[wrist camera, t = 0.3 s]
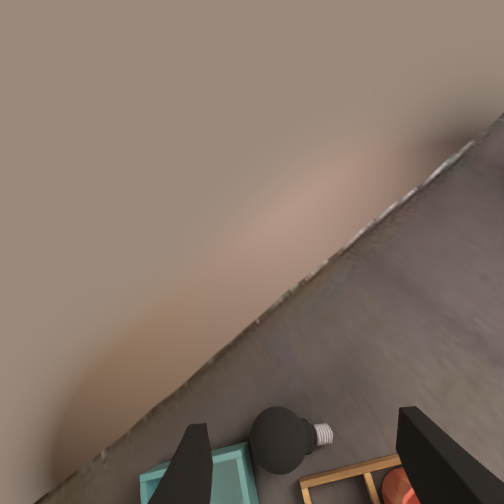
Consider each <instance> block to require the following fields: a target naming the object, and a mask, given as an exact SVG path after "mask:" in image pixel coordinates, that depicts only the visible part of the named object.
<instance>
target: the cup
mask: <svg viewBox="0 0 504 504" xmlns="http://www.w3.org/2000/svg"><path fill="white" fill-rule="evenodd" d="M382 499H383V502H384V504H420V502H419V500H418V498H417V496H416V494H415V492H414V490H413V488H412V486H411V484H410V482H409V480H408V478H407V475H406V473H405V470H404V468H403V467H399V468H395V469H393V470H391V471H390V472H388V473H387V475H386V476H385V478H384V480H383V483H382Z"/></svg>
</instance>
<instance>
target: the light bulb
mask: <svg viewBox="0 0 504 504" xmlns="http://www.w3.org/2000/svg"><path fill="white" fill-rule="evenodd" d="M332 441H333V433H332V431H331V429H330V427H329V425H328V424H326V423H324V424H312V425H310V424H309V422H308V421H307V420H306V419H299V418H298V416H297V415H296V414H295V413H293V412H292V411H290V410H288V409H286V408H283V407H271V408H268V409H266V410H264V411H263V412H262V413H260V414H259V415H258V417H257V418H256V419H255V421H254V423H253V425H252V429H251V433H250V445H251V449H252V453H253V455H254V457H255V459H256V461H257V462H258V463H259V465H260V466H261V467H262V468H264V469H265V470H267V471H268V472H271V473H274V474H286V473H289V472H291V471H293V470H294V469H296V468H297V467H298V466H299V465H300V463H301V462H302V460H303V458H304V456H305V455H308V454H311V453H312V451H313V447H314V446H321V445H331V444H332Z"/></svg>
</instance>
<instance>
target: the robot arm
mask: <svg viewBox="0 0 504 504" xmlns="http://www.w3.org/2000/svg"><path fill="white" fill-rule="evenodd" d="M396 451H397V453H398V456H399V458H400V461H401V463H402V466H403V468H404V470H405V473H406V475H407V478H408V480H409V482H410V484H411V486H412V488H413V490H414V492H415V494H416V496H417V498H418V500H419V502H420V504H504V482H502V481H501V480H500V479H499V478H497V477H496V476H495V475H494V474H492V473H491V472H490V471H489V470H488V469H486V468H485V467H484V466H483V465H482V464H481V463H479V462H478V461H477V460H476V459H475V458H474V457H472V456H471V455H470V454H469V453H468V452H467V451H465V450H464V449H463V448H462V447H461V446H460V445H459V444H457V443H456V442H455V441H454V440H453V439H452V438H451V437H450V436H448V435H447V434H446V433H445V432H444V431H443V430H442V429H441V428H440V427H438V426H437V425H436V424H435V423H434V422H433V421H432V420H431V419H430V418H428V417H427V416H426V415H425V414H424V413H423V412H422V411H421V410H420V409H418V408H417V407H416V406H413V407H401V408H399V418H398V429H397V441H396ZM212 474H213V460H212V454H211V448H210V443H209V437H208V432H207V426H206V423H203V424H191V425H189V426H188V427H187V429H186V431H185V434H184V436H183V438H182V440H181V442H180V444H179V446H178V448H177V450H176V452H175V454H174V456H173V458H172V460H171V462H170V464H169V466H168V468H167V470H166V471H165V473H164V475H163V477H162V479H161V480H160V482H159V484H158V486H157V488H156V489H155V491H154V493H153V495H152V496H151V498H150V500H149V501H148V503H147V504H210V500H211V489H212Z"/></svg>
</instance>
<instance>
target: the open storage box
mask: <svg viewBox="0 0 504 504" xmlns="http://www.w3.org/2000/svg"><path fill="white" fill-rule="evenodd" d="M211 454H212V460H213V474H212V489H211V500H210V504H259V501H258V495H257V490H256V485H255V479H254V474H253V469H252V463H251V458H250V453H249V448H248V442H243V443H239V444H235V445H231V446H227V447H223V448H219V449H215V450H211ZM170 462H171V461H168V462H165V463H161V464H158V465H156V466H155V467H153V468H151V469H150V470H148V471H146V472H144V473H143V474H141V475H140V493H141V504H147V503H148V501H149V500H150V498H151V496H152V495H153V493H154V491H155V489H156V488H157V486H158V484H159V482H160V480H161V479H162V477H163V475H164V473H165V471H166V470H167V468H168V466H169V464H170Z"/></svg>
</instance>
